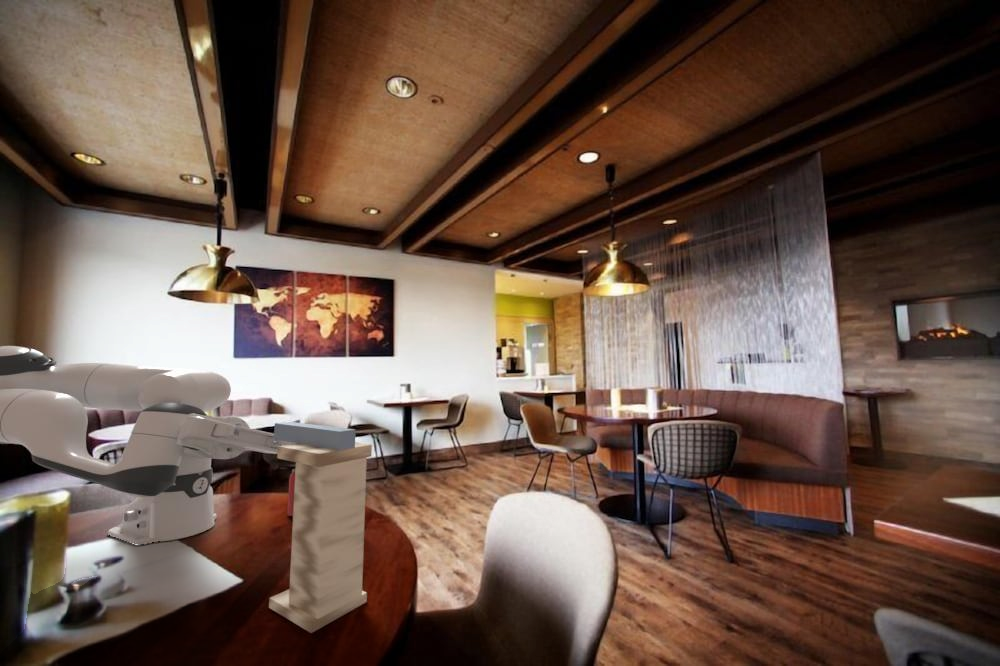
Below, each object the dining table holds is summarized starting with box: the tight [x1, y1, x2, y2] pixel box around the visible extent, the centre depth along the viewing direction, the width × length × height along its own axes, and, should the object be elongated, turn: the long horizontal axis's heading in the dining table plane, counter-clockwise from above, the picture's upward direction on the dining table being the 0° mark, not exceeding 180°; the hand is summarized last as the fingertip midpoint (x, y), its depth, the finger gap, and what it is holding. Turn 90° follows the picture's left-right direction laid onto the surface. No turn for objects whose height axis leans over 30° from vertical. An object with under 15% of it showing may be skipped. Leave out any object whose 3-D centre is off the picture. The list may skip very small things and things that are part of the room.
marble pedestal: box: [268, 441, 373, 634], centre depth 69 cm, size 12×10×26 cm
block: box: [273, 421, 356, 450], centre depth 73 cm, size 20×3×3 cm, turn 57°
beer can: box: [287, 468, 296, 518], centre depth 112 cm, size 7×7×12 cm
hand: (260, 436), depth 80 cm, fingers open, 8 cm apart
